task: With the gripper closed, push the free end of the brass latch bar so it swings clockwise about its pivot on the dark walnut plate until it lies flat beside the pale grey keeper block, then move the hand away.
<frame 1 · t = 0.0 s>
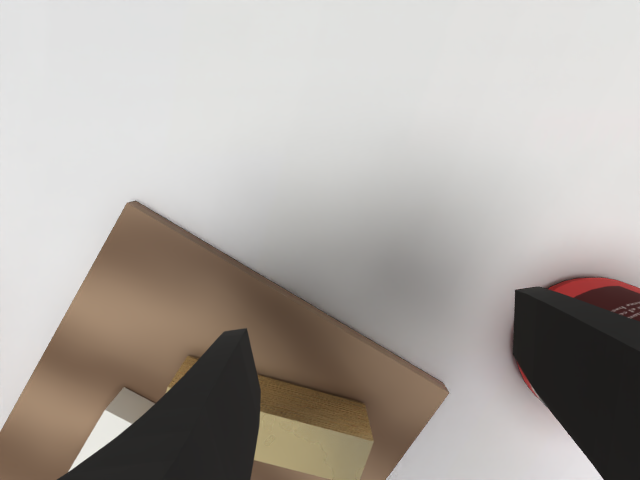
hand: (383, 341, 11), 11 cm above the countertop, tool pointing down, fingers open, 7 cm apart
canned food: (577, 338, 23), on the countertop
latch bar: (267, 421, 20), point 3 cm above the countertop, hinge at 0.0°
keeper: (128, 420, 23), resting on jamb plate
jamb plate: (212, 428, 23), on the countertop
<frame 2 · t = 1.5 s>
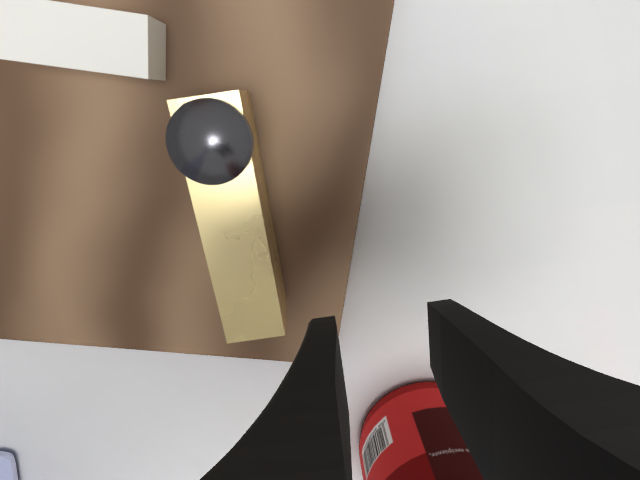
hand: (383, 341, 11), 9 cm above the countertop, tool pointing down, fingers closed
canned food: (419, 429, 24), on the countertop
latch bar: (236, 220, 16), point 3 cm above the countertop, hinge at 0.0°
keeper: (111, 46, 17), resting on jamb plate
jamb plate: (161, 156, 18), on the countertop
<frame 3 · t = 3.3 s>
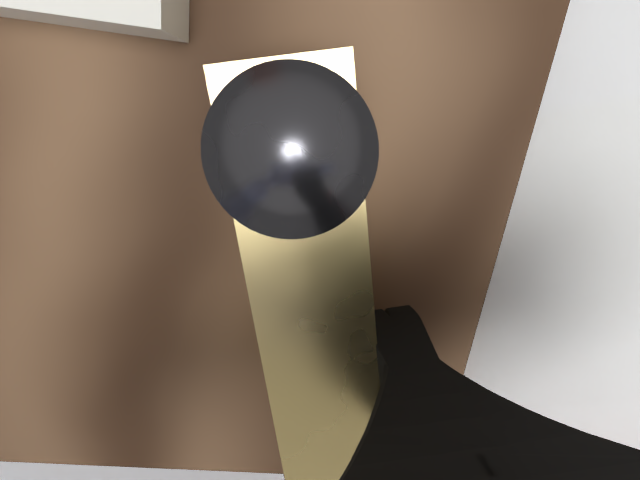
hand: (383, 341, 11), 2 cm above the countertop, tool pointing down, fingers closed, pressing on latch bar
latch bar: (312, 289, 9), point 3 cm above the countertop, hinge at -1.2°, touching gripper
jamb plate: (177, 173, 11), on the countertop
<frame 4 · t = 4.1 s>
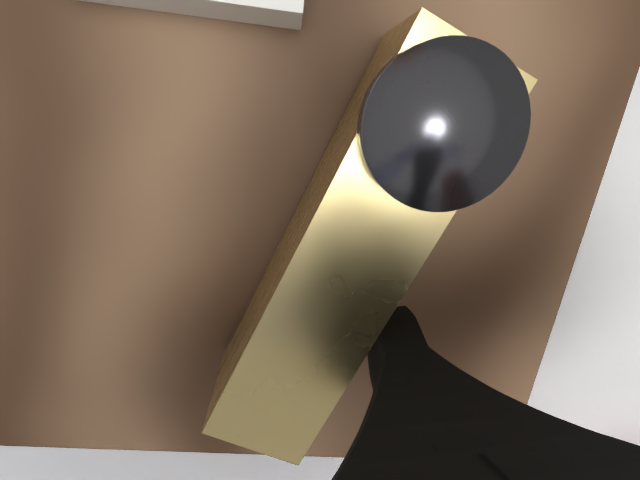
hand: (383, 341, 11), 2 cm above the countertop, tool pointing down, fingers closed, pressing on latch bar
latch bar: (342, 256, 9), point 3 cm above the countertop, hinge at -35.6°, touching gripper
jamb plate: (271, 160, 11), on the countertop
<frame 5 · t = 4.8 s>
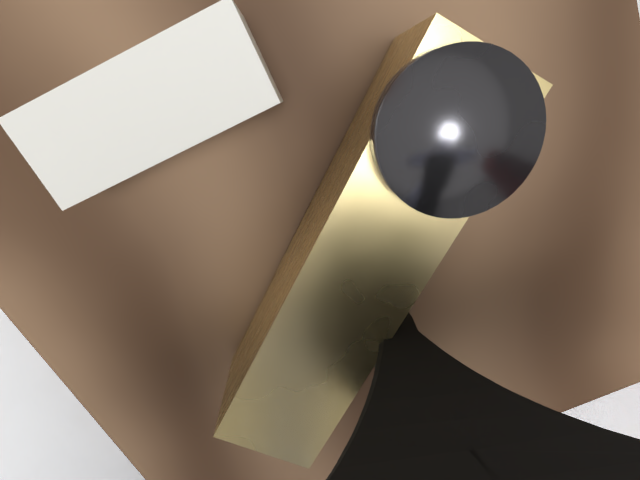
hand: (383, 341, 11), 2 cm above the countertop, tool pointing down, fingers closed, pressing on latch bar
latch bar: (352, 260, 9), point 3 cm above the countertop, hinge at -66.8°, touching gripper
keeper: (182, 106, 11), resting on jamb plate
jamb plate: (318, 213, 12), on the countertop
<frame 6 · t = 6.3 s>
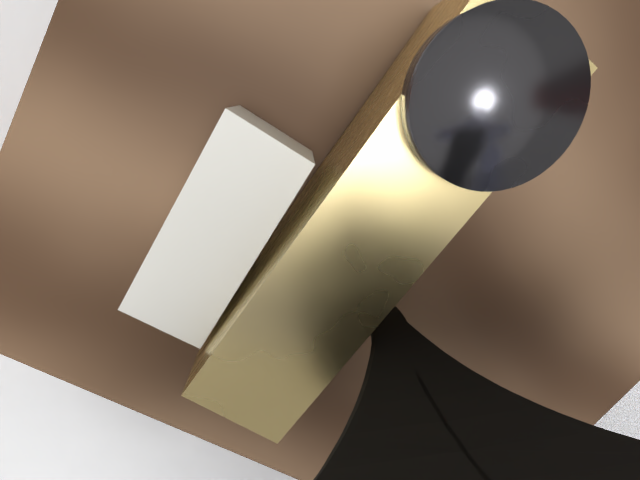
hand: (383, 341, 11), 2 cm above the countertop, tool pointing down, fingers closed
latch bar: (356, 230, 9), point 3 cm above the countertop, hinge at -108.3°, touching gripper
keeper: (233, 203, 11), resting on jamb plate
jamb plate: (395, 219, 12), on the countertop
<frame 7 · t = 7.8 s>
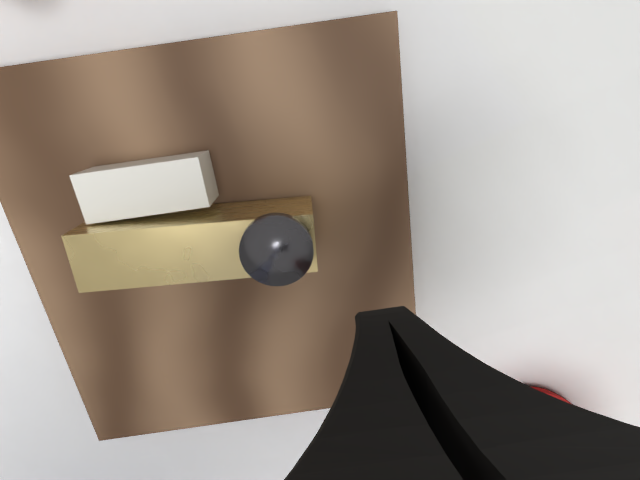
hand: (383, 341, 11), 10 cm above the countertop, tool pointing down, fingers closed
latch bar: (200, 243, 17), point 3 cm above the countertop, hinge at -108.3°
keeper: (165, 176, 19), resting on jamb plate
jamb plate: (226, 253, 20), on the countertop
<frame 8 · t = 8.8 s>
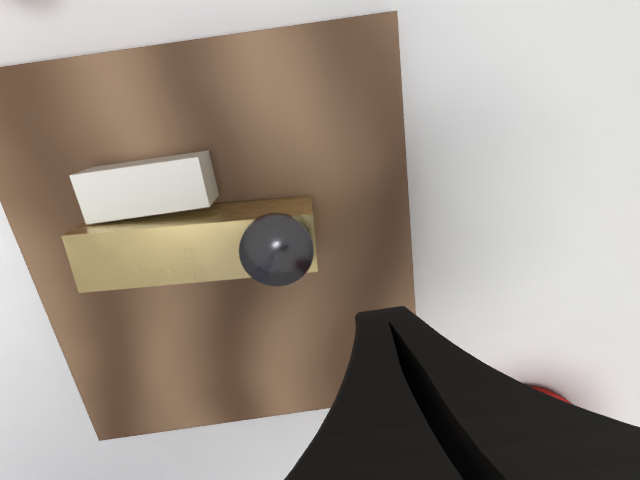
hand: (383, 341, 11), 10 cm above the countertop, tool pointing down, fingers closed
latch bar: (200, 243, 17), point 3 cm above the countertop, hinge at -108.3°
keeper: (165, 176, 19), resting on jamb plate
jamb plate: (226, 253, 20), on the countertop
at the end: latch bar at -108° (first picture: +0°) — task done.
